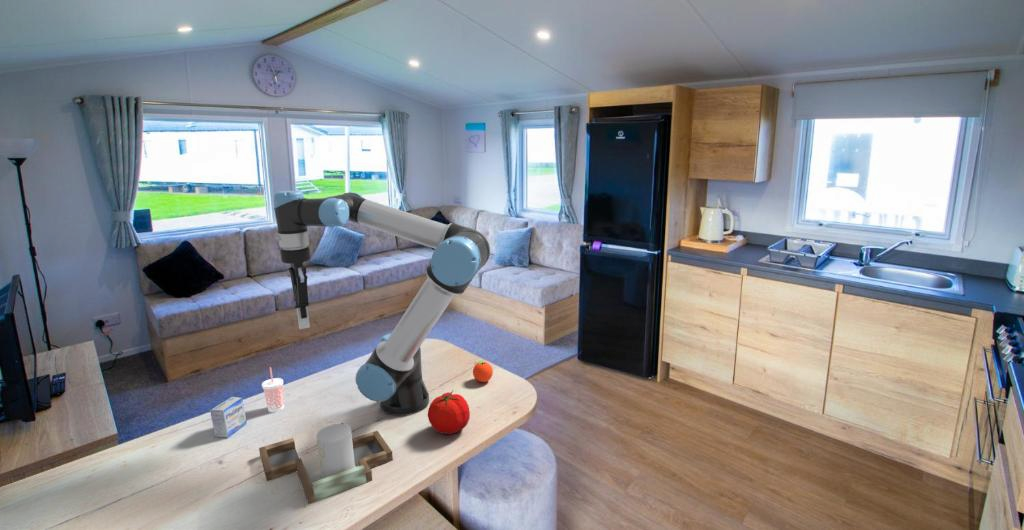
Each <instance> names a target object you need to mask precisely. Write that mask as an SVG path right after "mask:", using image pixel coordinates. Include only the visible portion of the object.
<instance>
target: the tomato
mask: <svg viewBox="0 0 1024 530" xmlns="http://www.w3.org/2000/svg"><path fill="white" fill-rule="evenodd" d="M453 392H454V390H452V391H451V392H444V393H443V394H442V395H439V396H437V397H435V398H434V399H433V400H432V401H431V403H430V404H429V407H428V410H427V418H428V421H429V423H430V425H431V428H433V429H434V430H435V431H436V432H438V433H441V434H446V435H451V434H455V433H457V432H459V431H461V430H463V429H464V428H465V427H466V426H467V425H468V423H469V421H470V419H471V418H470V416H471V411H470V406H469V404H468V402H467V399H465V397H463V395H461V394H458V393H455V394H454V393H453Z"/></svg>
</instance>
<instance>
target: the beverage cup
mask: <svg viewBox="0 0 1024 530" xmlns="http://www.w3.org/2000/svg"><path fill="white" fill-rule="evenodd" d="M269 373H270V379H267V380H264V381H262V383H261V387H262V389H263V393H264V397H265V402H266V403H265V404H266V407H267V410H268V412H270V413H278V412H281V411H282V410H283V409H285V401H284V399H285V397H284V379H283V378H281V377H275V378H274V376H273V371H272V367H271V366H270V367H269ZM280 410H281V411H280Z"/></svg>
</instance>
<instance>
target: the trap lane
mask: <svg viewBox="0 0 1024 530" xmlns="http://www.w3.org/2000/svg"><path fill="white" fill-rule="evenodd" d="M340 424H344V422H341V423H340ZM352 442H353V452H354V461H355V464H356V466H355V468H352V469H349V470H346V471H344V472H341V473H338V474H335V475H332V476H329V477H326V478H323V479H321V478H320V479H318V480H314V481H313V482H311V481H310V479H309V476H308V473H307V470H306V467H305V465H304V462H303V459H302V457H299V455H298V452H297V449H296V443H295V439H294V437H291V438H288V439H285V440H282V441H278V442H275V443H271V444H268V445H264V446H261V447H259V448H258V451H259V456H260V457H259V458H260V460H261V464H262V468H263V472H264V476H265V480H266V482H270V481H273V480H276V479H278V478H279V479H280V478H281V477H286V476H288V475H290V474H294V473H297V476H298V478H299V481H300V484H301V486H302V491H303V493H304V495H305V498H306V500H307V504H311V503H313V502H316V501H318V500H322V499H324V498H327V497H330V496H332V495H335V494H338V493H341V492H343V491H346V490H349V489H352V488H355V487H358V486H360V485H363V484H366V483H368V482H371V481H373V473H372V468H375V467H376V466H380V465H383V464H385V463H388V462H391V461H393V459H394V458H393V450H392V449H391V448H390V446H389V445H388V443H387V442H386V440H385V439H384V437H383V436H382V435H381V433H380V432H379V430H374V431H371V432H369V433H365V434H362V435H359V436H356V437H352ZM374 466H375V467H374Z"/></svg>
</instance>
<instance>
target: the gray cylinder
mask: <svg viewBox="0 0 1024 530" xmlns="http://www.w3.org/2000/svg"><path fill="white" fill-rule="evenodd" d="M315 438H316V447H317V454H318V455H317V456H318V464H319V471H320V479H323V478H326V477H329V476H332V475H335V474H338V473H341V472H344V471H346V470H349V469H352V468H355V467H356V465H355V464H356V463H355V461H354V452H353V442H352V438H353V433H352V428H351V426H349V425H348V424H345V423H343V424H341V423H335V424H330V425H327V426H325V427H322V428H321V429H320V430H319V431H317V433H316V435H315Z"/></svg>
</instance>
